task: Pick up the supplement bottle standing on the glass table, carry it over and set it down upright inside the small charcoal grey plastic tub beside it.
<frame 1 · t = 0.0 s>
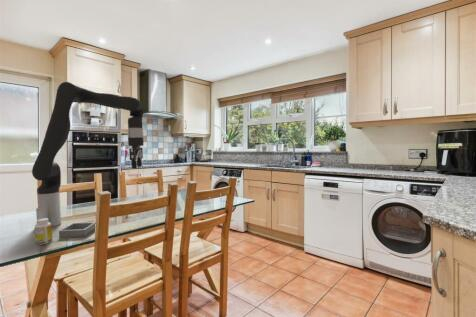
hand: (136, 167, 134), 29 cm above the table, tool pointing down, fingers open, 8 cm apart
supplement bottle: (44, 243, 108), on the table
grey tub: (78, 233, 119), on the table
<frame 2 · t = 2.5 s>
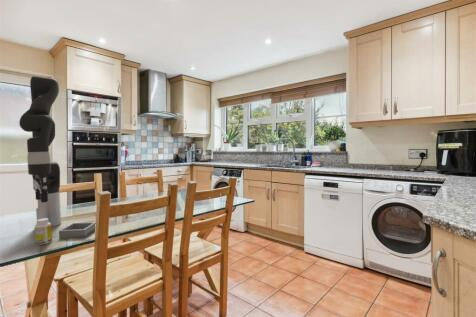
hand: (41, 200, 107), 18 cm above the table, tool pointing down, fingers open, 8 cm apart
nothing on the table moved.
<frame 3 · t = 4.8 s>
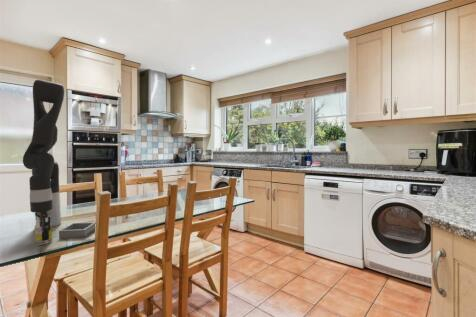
hand: (43, 238, 108), 2 cm above the table, tool pointing down, fingers closed on supplement bottle, 5 cm apart
supplement bottle: (44, 243, 108), on the table, touching gripper
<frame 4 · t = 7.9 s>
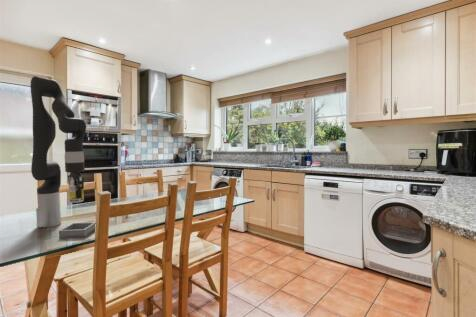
hand: (76, 197, 118), 17 cm above the table, tool pointing down, fingers closed on supplement bottle, 5 cm apart
supplement bottle: (77, 202, 118), point 15 cm above the table, touching gripper
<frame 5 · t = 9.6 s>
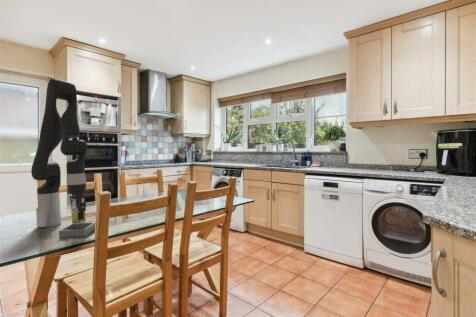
hand: (78, 218, 118), 7 cm above the table, tool pointing down, fingers closed on supplement bottle, 5 cm apart
supplement bottle: (79, 223, 119), point 5 cm above the table, touching gripper
when the fingers open (5 cm above the table, at t = 11.0 s): supplement bottle drops 2 cm, resting on grey tub.
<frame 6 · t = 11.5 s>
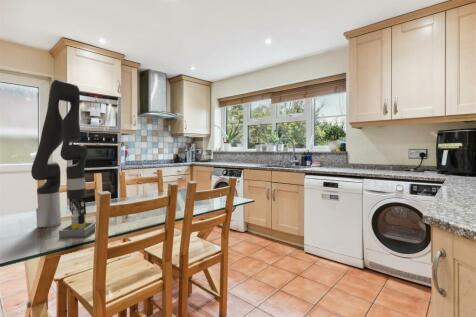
hand: (78, 221, 118), 6 cm above the table, tool pointing down, fingers open, 8 cm apart
supplement bottle: (78, 231, 119), point 1 cm above the table, touching grey tub
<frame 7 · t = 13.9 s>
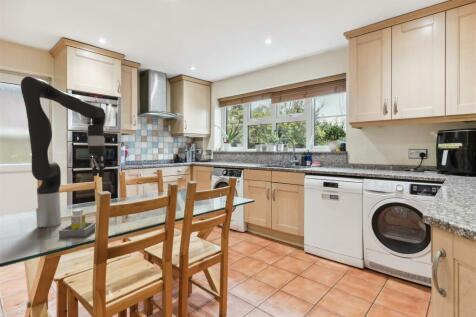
hand: (98, 176, 130), 25 cm above the table, tool pointing down, fingers open, 8 cm apart
nothing on the table moved.
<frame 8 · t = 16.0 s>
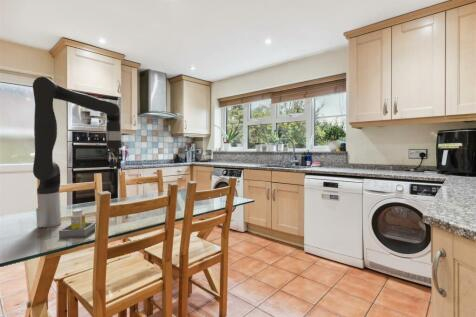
hand: (115, 168, 142), 28 cm above the table, tool pointing down, fingers open, 8 cm apart
nothing on the table moved.
at the end: supplement bottle inside the target area on the grey tub (0.1 cm from its centre), point 0.8 cm above the grey tub's base; supplement bottle tilted 0°; the gripper is holding nothing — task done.
